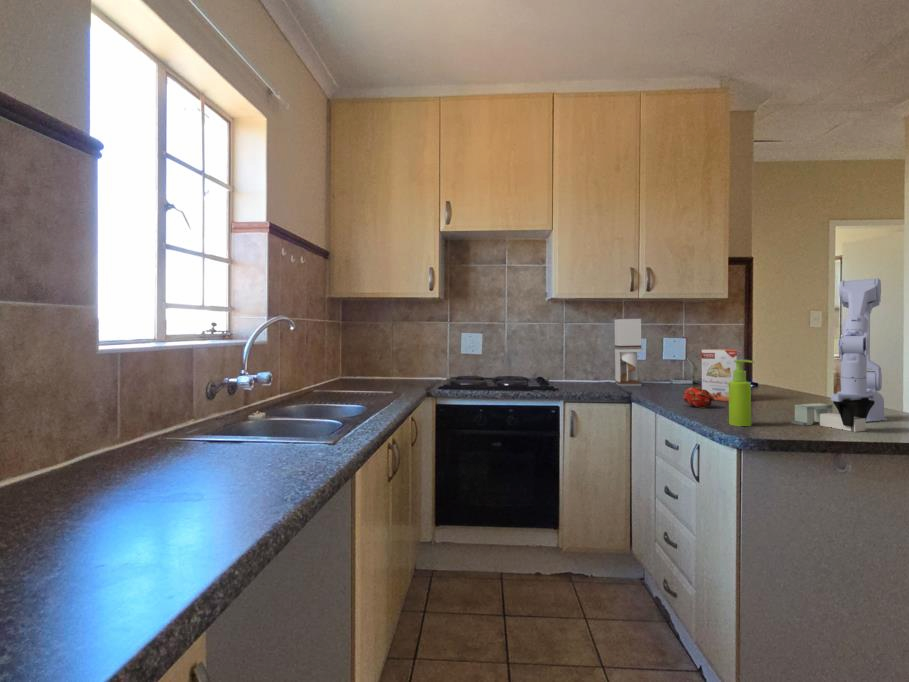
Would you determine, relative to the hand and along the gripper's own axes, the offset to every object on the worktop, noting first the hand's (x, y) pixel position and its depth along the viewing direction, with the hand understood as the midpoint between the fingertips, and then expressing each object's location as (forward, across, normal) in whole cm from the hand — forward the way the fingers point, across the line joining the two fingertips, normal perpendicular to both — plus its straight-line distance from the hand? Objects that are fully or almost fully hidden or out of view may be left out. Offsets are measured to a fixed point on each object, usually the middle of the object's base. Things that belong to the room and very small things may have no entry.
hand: (853, 425), depth 141 cm
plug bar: (+1, 0, -3) cm, 4 cm away
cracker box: (+2, -14, -61) cm, 62 cm away
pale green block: (+1, 0, -12) cm, 12 cm away
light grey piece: (+2, -14, -124) cm, 124 cm away
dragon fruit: (+2, +8, -50) cm, 51 cm away
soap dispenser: (+2, +22, -18) cm, 28 cm away
